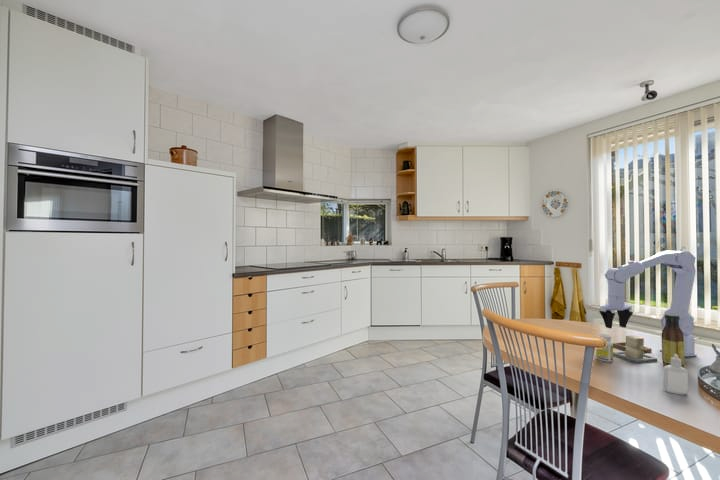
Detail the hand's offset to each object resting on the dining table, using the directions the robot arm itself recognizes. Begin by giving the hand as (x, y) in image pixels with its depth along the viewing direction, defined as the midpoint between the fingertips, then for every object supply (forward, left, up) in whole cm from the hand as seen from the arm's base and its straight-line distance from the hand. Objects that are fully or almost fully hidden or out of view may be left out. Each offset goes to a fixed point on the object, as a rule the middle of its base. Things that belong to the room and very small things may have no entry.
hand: (615, 327), depth 139 cm
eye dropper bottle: (+18, +34, -11) cm, 40 cm away
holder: (-10, -1, -10) cm, 14 cm away
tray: (0, +8, -10) cm, 13 cm away
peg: (0, +8, -10) cm, 13 cm away
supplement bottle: (+14, +7, -11) cm, 19 cm away
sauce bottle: (-6, +18, -11) cm, 21 cm away
